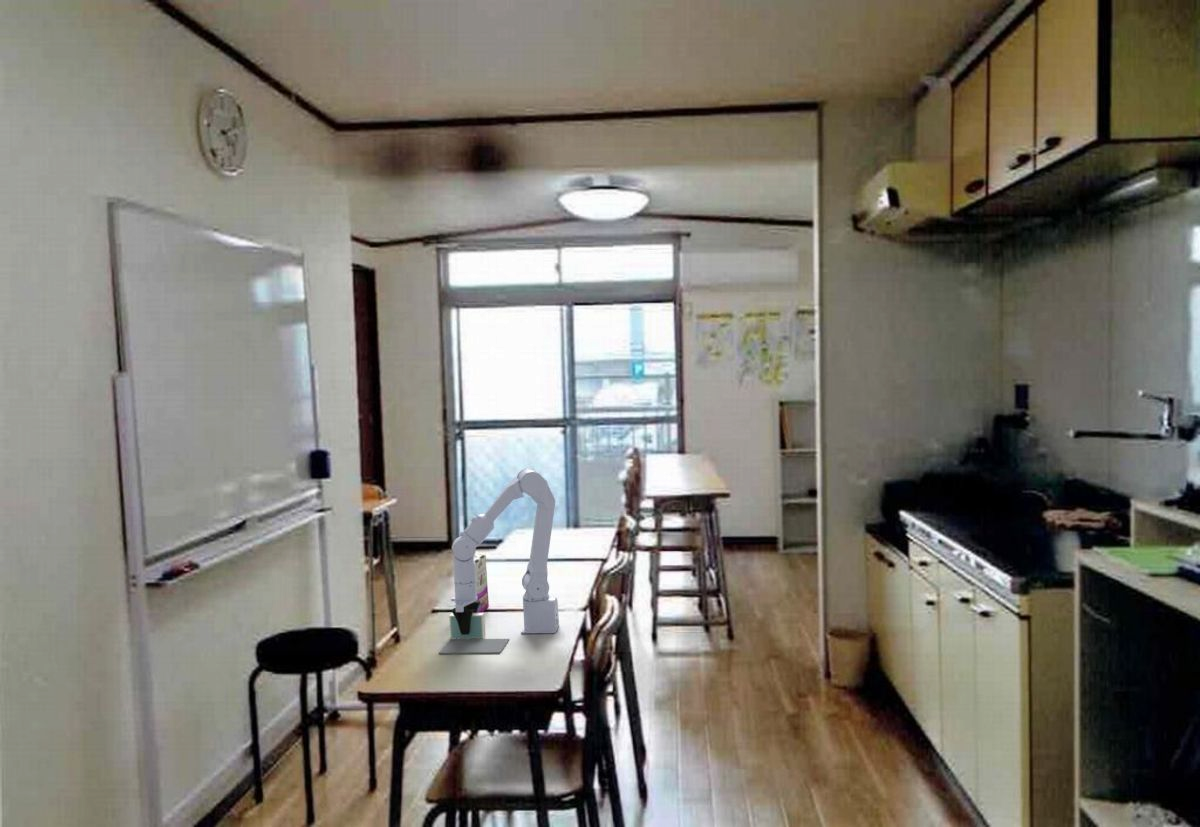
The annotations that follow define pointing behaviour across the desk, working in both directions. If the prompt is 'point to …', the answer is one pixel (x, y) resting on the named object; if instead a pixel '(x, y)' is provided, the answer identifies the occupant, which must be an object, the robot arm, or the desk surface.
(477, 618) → the block
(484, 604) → the candy bar box
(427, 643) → the desk surface
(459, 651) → the mat
